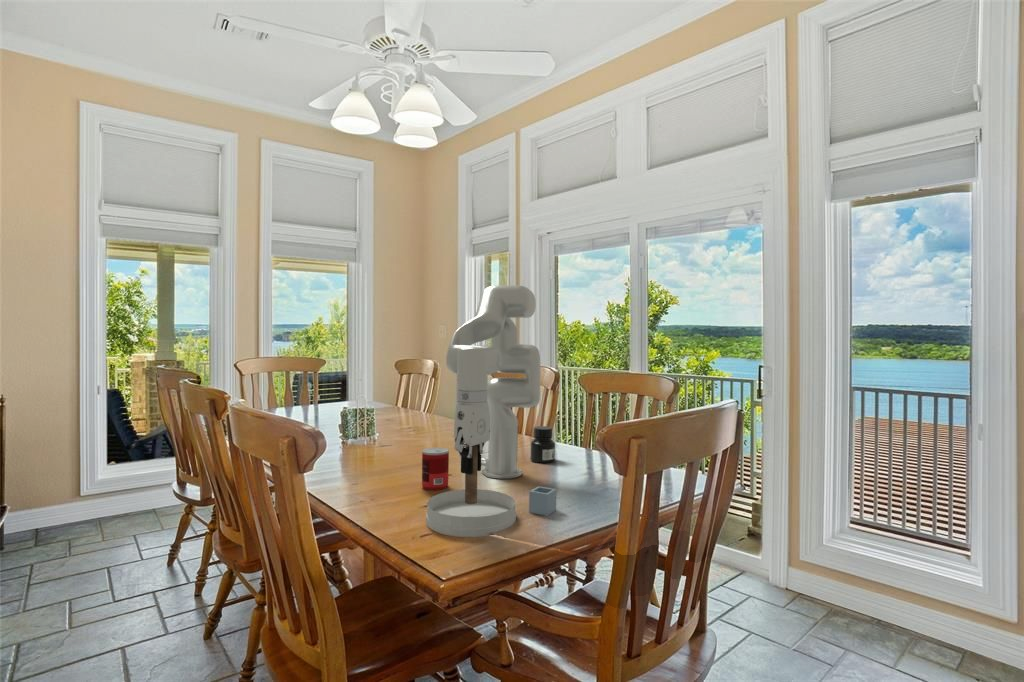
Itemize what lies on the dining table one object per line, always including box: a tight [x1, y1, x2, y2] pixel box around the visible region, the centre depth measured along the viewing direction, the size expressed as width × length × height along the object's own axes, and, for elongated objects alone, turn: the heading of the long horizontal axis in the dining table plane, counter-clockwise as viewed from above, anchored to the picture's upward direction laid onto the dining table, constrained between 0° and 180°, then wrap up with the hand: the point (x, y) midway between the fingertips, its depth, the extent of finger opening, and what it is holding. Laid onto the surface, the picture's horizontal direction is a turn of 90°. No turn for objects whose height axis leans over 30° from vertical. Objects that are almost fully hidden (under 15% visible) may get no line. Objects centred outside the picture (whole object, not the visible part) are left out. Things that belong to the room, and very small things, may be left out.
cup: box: [528, 486, 557, 517], centre depth 141 cm, size 5×5×6 cm
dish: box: [425, 488, 517, 538], centre depth 135 cm, size 22×22×5 cm
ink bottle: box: [529, 425, 556, 464], centre depth 198 cm, size 10×9×12 cm
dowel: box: [464, 445, 478, 504], centre depth 135 cm, size 3×3×14 cm
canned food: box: [421, 447, 450, 491], centre depth 164 cm, size 8×8×11 cm
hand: (471, 471), depth 135 cm, fingers closed on dowel, 3 cm apart
